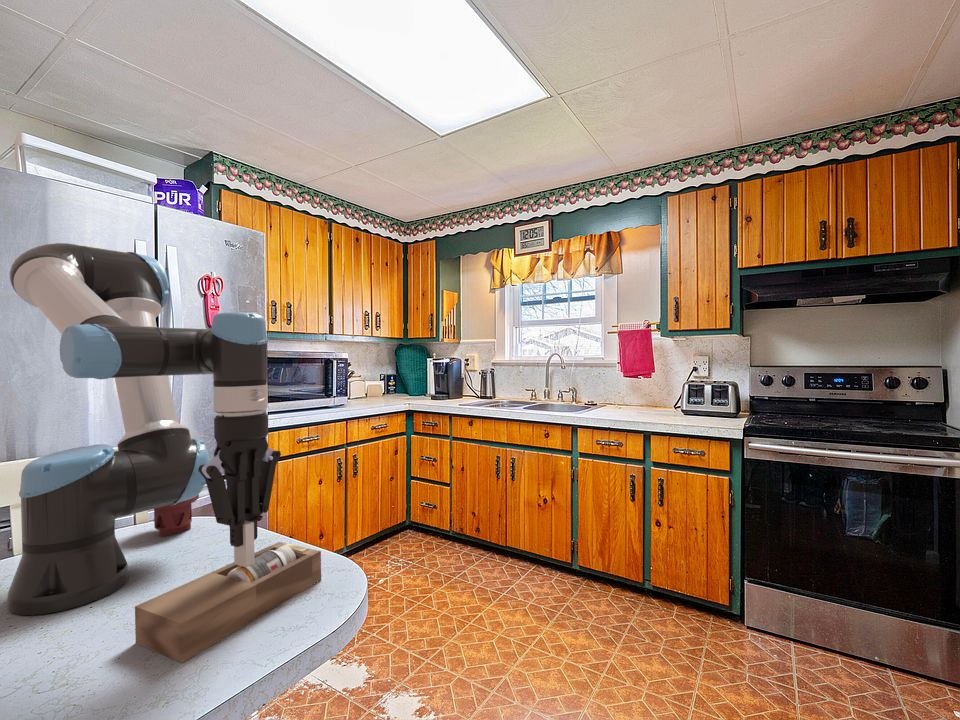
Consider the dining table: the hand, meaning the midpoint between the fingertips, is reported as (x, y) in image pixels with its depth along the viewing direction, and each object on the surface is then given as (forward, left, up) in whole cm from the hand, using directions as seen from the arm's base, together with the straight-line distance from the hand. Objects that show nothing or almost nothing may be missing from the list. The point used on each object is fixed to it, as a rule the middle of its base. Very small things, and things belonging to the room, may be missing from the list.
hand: (244, 563), depth 73 cm
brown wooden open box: (0, -1, -6) cm, 6 cm away
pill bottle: (-1, -1, -4) cm, 4 cm away
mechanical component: (-42, +15, -7) cm, 46 cm away
